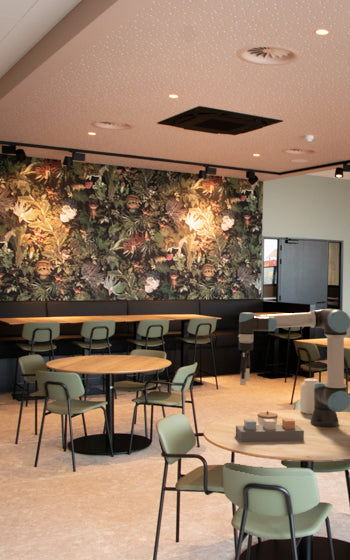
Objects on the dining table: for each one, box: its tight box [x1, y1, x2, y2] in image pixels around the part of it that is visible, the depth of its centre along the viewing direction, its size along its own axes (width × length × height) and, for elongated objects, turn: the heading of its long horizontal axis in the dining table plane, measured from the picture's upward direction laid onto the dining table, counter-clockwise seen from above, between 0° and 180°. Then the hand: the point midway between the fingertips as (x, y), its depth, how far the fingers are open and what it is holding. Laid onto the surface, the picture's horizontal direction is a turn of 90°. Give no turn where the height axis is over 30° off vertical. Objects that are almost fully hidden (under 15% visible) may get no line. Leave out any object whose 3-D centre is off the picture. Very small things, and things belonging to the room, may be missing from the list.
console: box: [235, 424, 305, 443], centre depth 296 cm, size 32×12×5 cm, turn 97°
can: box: [299, 377, 319, 415], centre depth 354 cm, size 12×12×20 cm
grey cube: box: [243, 418, 257, 430], centre depth 295 cm, size 5×5×5 cm
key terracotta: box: [281, 418, 296, 429], centre depth 297 cm, size 5×5×5 cm
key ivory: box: [263, 419, 277, 430], centre depth 296 cm, size 5×5×5 cm
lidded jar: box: [257, 410, 279, 425], centre depth 314 cm, size 11×11×9 cm
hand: (244, 382), depth 305 cm, fingers open, 13 cm apart
